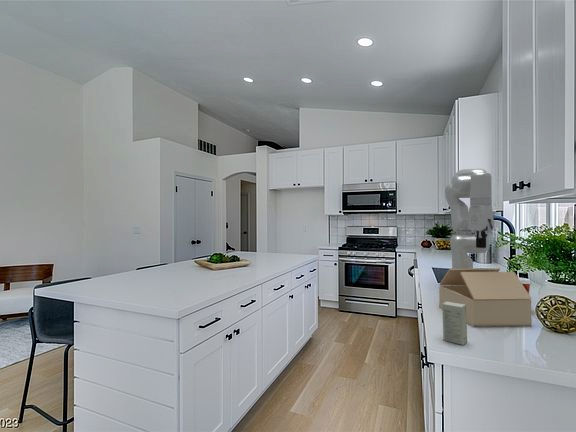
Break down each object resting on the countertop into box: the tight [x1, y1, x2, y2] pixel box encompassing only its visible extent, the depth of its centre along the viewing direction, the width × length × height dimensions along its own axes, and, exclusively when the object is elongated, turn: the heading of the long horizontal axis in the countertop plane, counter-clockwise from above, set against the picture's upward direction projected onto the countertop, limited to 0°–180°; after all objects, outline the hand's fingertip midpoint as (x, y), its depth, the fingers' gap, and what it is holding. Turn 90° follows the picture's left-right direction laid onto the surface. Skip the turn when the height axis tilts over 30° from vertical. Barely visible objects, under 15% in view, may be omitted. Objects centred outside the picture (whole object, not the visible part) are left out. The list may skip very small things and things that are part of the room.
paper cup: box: [517, 276, 531, 295], centre depth 131 cm, size 8×8×14 cm
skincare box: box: [442, 302, 468, 346], centre depth 100 cm, size 6×4×12 cm
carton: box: [438, 285, 532, 328], centre depth 124 cm, size 24×22×10 cm
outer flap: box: [460, 271, 532, 301], centre depth 116 cm, size 12×22×1 cm
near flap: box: [438, 267, 501, 286], centre depth 132 cm, size 12×22×1 cm
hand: (481, 247), depth 124 cm, fingers closed
